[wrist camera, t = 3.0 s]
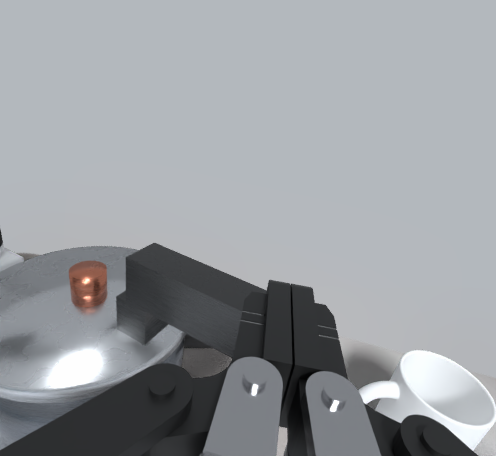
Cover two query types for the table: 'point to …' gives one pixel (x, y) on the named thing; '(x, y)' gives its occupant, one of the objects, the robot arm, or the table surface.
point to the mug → (435, 395)
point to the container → (8, 257)
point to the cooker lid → (107, 317)
